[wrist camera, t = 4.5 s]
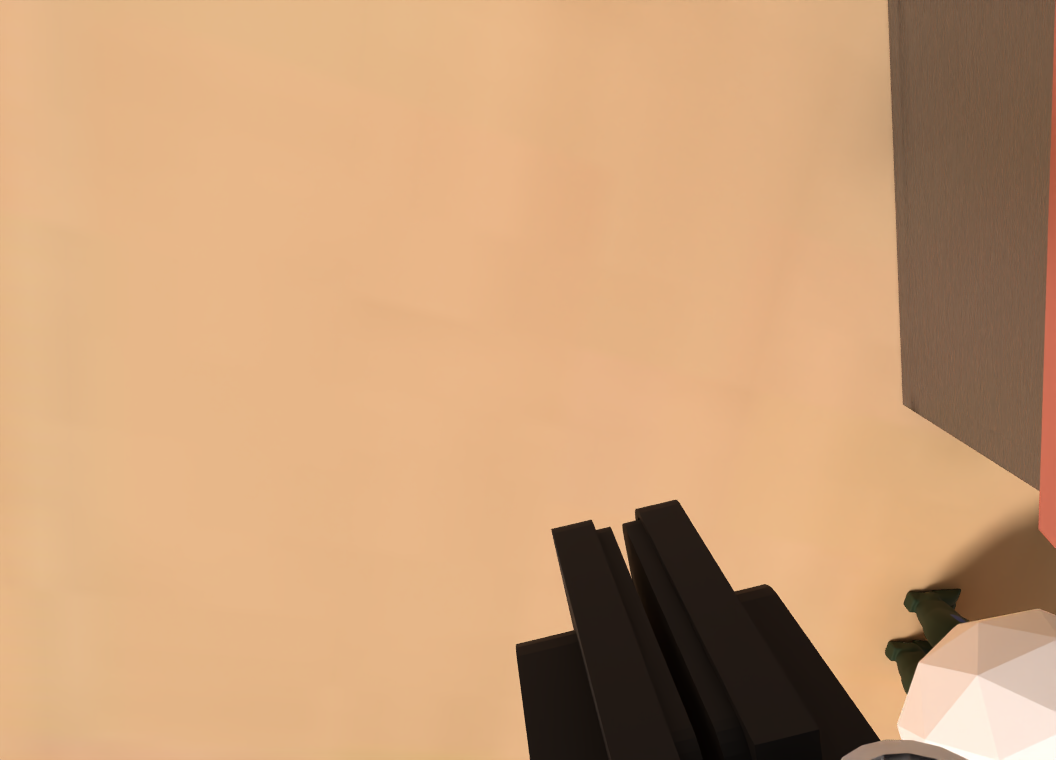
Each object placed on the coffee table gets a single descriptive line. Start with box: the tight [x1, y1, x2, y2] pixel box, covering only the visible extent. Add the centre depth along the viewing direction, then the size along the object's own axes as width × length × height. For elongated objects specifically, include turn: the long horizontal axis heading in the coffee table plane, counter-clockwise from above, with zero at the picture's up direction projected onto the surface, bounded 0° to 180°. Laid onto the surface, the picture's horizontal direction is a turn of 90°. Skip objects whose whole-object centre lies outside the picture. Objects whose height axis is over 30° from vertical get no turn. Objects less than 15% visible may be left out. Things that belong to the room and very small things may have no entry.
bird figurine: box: [885, 589, 1056, 760], centre depth 30 cm, size 18×10×13 cm, turn 170°
